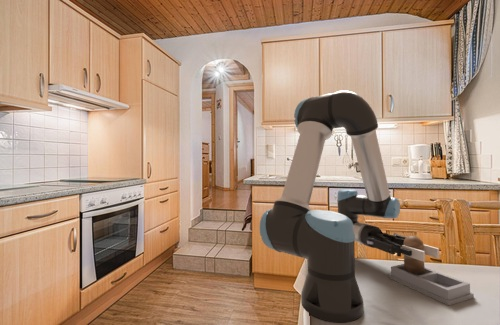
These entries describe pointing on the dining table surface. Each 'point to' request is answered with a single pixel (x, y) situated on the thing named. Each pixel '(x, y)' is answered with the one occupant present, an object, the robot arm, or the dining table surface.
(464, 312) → the dining table surface
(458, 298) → the two-compartment grey tray
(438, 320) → the dining table surface
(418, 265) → the wooden dome-top peg
